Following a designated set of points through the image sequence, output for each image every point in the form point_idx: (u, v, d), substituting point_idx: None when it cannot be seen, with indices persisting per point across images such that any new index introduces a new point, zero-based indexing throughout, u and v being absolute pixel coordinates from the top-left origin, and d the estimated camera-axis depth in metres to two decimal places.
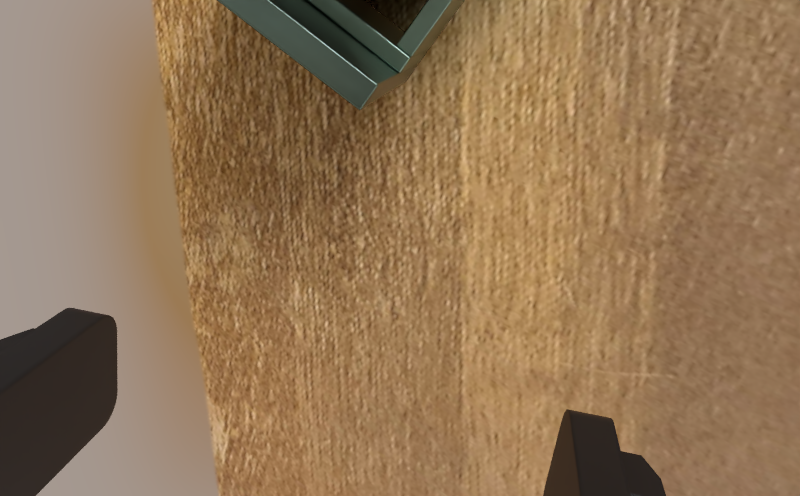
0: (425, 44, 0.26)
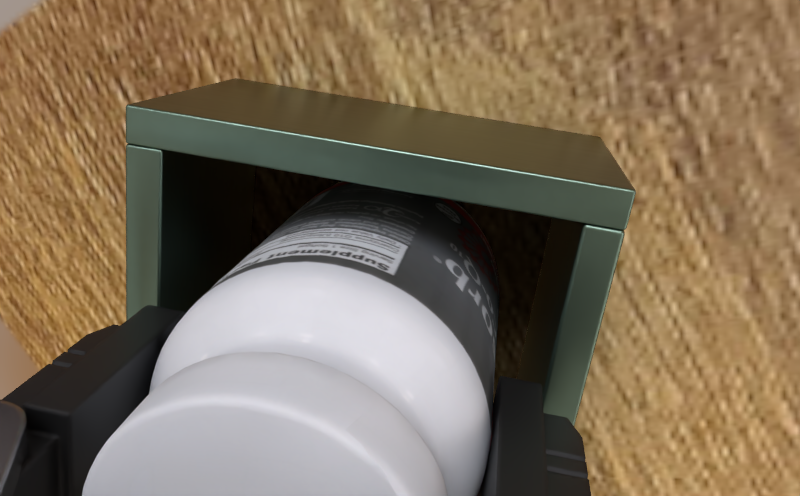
0: None
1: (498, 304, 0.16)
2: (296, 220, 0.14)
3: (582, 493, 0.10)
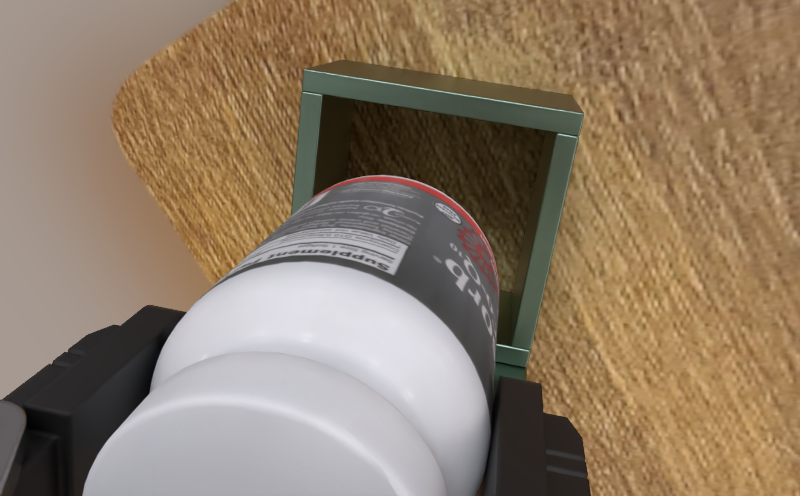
0: None
1: (498, 304, 0.16)
2: (296, 220, 0.14)
3: (582, 493, 0.10)
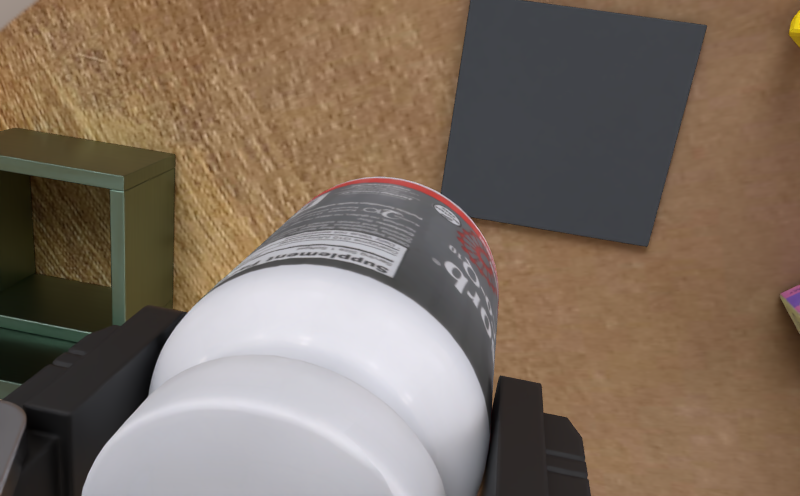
0: None
1: (497, 306, 0.16)
2: (295, 222, 0.14)
3: (582, 493, 0.10)
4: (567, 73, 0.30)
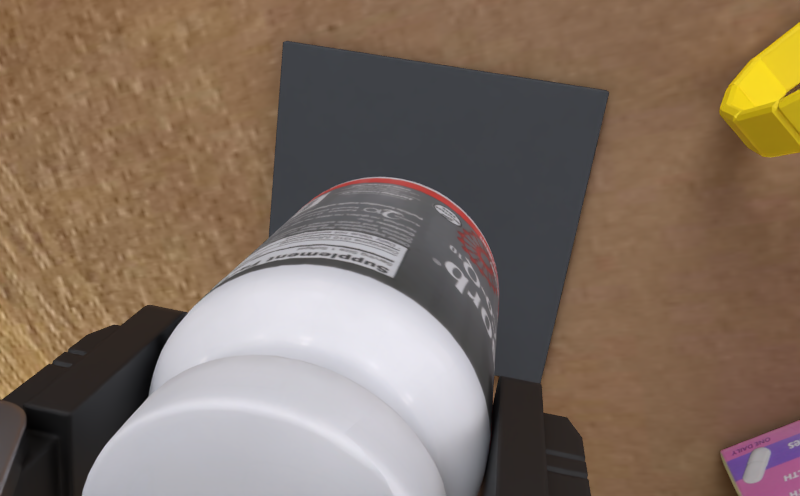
0: None
1: (497, 306, 0.16)
2: (296, 222, 0.14)
3: (582, 493, 0.10)
4: (419, 153, 0.22)
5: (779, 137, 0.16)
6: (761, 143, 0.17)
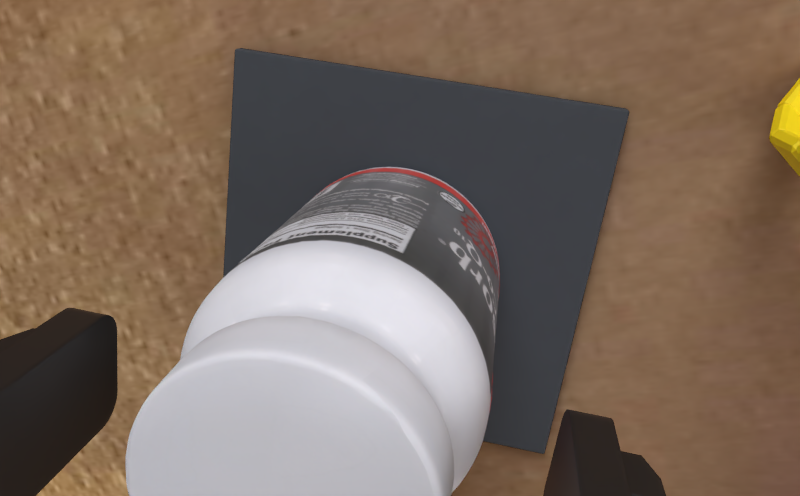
0: None
1: (498, 287, 0.17)
2: (311, 206, 0.15)
3: None
4: None
5: None
6: None
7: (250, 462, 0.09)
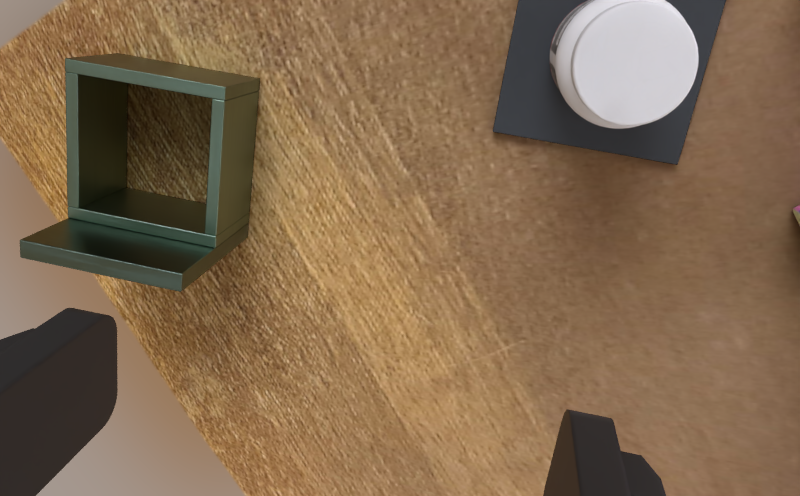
0: (229, 219, 0.39)
1: None
2: None
3: None
4: None
5: None
6: None
7: (627, 48, 0.26)
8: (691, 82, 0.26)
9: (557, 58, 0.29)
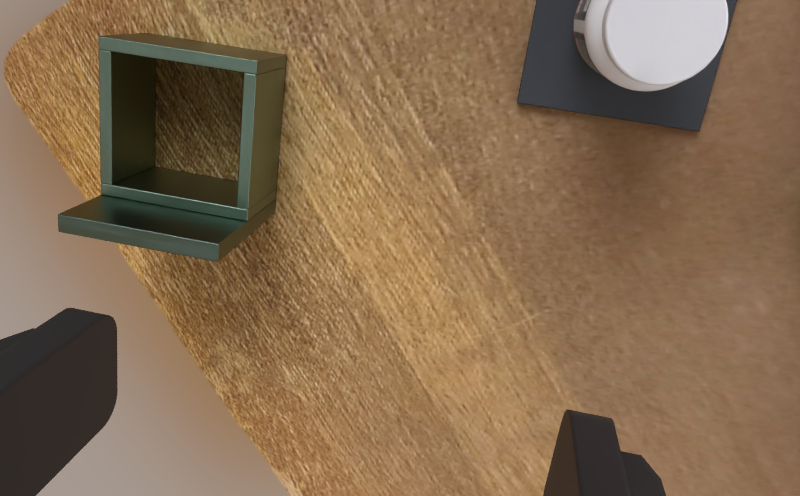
0: (259, 193, 0.40)
1: None
2: None
3: None
4: None
5: None
6: None
7: (658, 8, 0.27)
8: (721, 40, 0.27)
9: (587, 23, 0.30)
